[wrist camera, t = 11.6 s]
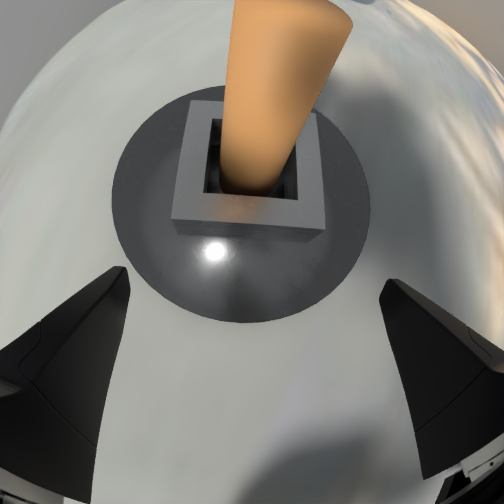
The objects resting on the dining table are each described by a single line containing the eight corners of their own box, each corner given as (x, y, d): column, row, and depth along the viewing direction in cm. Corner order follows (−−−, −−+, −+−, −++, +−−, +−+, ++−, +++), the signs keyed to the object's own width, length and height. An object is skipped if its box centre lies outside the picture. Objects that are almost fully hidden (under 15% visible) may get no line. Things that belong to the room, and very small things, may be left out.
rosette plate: (368, 320, 18) (402, 321, 14) (101, 311, 16) (72, 310, 12) (333, 55, 24) (346, 30, 20) (167, 37, 21) (165, 9, 18)
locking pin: (259, 215, 17) (338, 50, 5) (208, 189, 17) (211, 6, 5) (282, 171, 18) (361, 14, 6) (235, 148, 18) (266, -21, 6)
